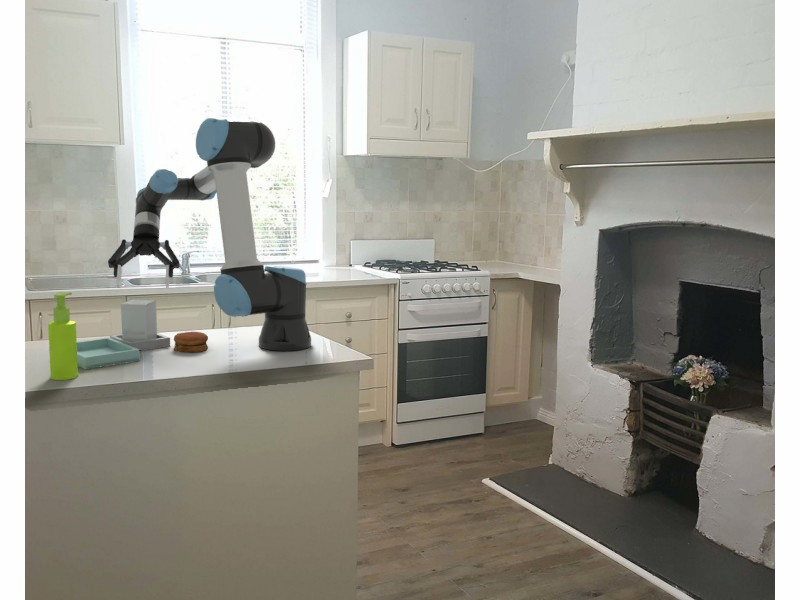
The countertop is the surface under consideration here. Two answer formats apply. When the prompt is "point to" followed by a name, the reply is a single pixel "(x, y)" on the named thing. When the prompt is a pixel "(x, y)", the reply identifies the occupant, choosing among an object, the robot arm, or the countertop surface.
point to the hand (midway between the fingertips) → (142, 285)
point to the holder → (145, 342)
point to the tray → (104, 353)
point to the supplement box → (139, 320)
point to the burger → (190, 342)
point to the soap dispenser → (62, 342)
